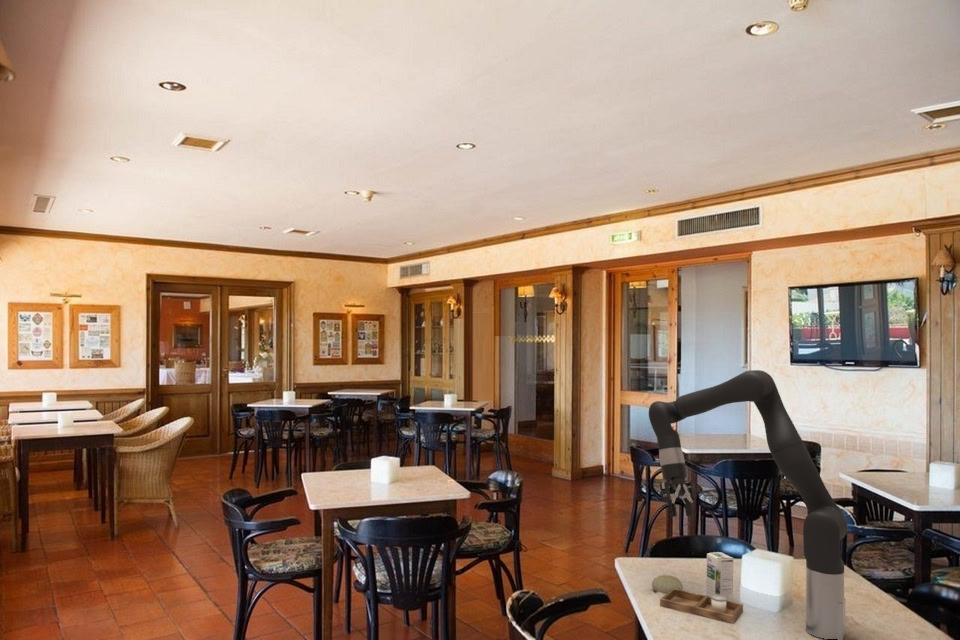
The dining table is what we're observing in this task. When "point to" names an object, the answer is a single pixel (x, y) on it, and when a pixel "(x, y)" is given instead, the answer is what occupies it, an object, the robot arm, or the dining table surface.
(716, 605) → the translucent white cylinder
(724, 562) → the syrup box
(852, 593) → the dining table surface
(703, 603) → the caddy
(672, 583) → the sea urchin shell
